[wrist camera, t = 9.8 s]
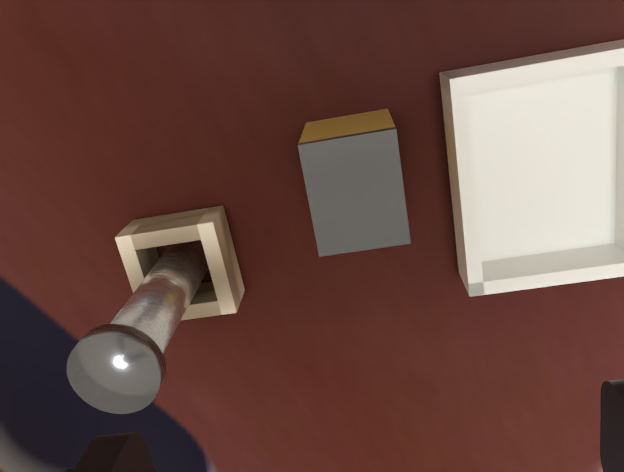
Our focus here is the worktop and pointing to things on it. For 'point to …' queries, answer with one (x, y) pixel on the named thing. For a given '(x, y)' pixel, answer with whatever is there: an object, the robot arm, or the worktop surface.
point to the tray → (537, 168)
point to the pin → (138, 335)
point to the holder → (178, 229)
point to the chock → (354, 182)
